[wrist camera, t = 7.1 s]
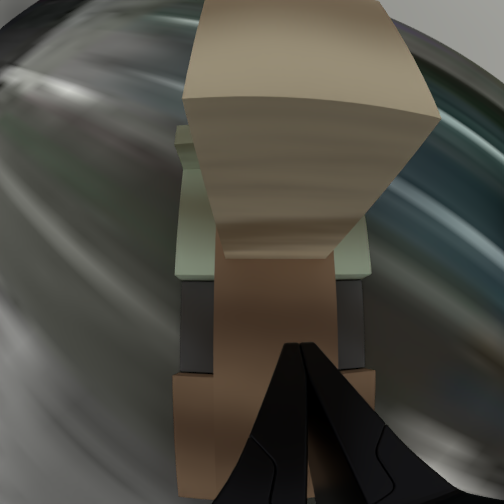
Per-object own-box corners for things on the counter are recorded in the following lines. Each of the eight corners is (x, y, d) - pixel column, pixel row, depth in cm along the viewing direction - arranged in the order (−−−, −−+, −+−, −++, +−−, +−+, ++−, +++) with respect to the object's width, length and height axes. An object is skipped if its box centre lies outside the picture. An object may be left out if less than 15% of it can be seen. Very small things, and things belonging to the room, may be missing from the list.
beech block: (325, 258, 15) (441, 118, 5) (225, 258, 15) (181, 98, 5) (317, 172, 17) (378, 0, 6) (228, 170, 17) (208, -13, 6)
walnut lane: (359, 478, 13) (384, 507, 10) (183, 485, 13) (167, 518, 10) (348, 167, 19) (367, 129, 15) (189, 165, 19) (177, 125, 15)
